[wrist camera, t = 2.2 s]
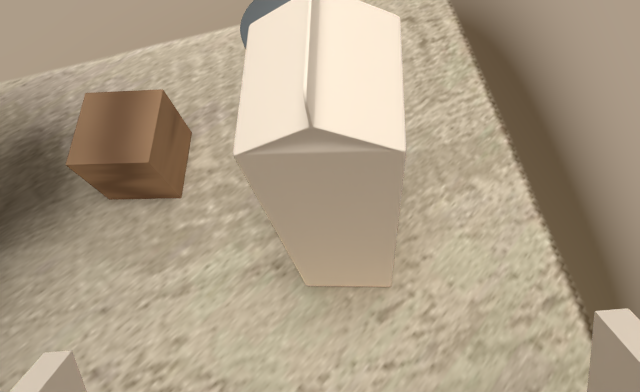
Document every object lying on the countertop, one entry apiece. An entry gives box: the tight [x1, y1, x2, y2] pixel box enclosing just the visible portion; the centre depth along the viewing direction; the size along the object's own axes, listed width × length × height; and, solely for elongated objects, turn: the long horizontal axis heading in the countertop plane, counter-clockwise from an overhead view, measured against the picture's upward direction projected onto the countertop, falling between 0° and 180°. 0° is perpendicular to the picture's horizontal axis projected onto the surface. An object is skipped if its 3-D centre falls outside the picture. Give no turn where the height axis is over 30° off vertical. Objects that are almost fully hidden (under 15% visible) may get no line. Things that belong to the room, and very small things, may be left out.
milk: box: [233, 0, 406, 287], centre depth 24 cm, size 6×6×22 cm
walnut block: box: [66, 90, 192, 199], centre depth 36 cm, size 6×6×6 cm
